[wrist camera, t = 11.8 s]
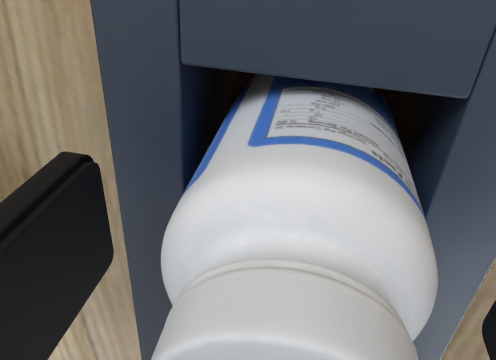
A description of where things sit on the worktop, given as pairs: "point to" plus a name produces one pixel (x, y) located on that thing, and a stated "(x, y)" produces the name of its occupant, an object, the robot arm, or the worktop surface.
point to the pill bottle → (299, 233)
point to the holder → (309, 68)
